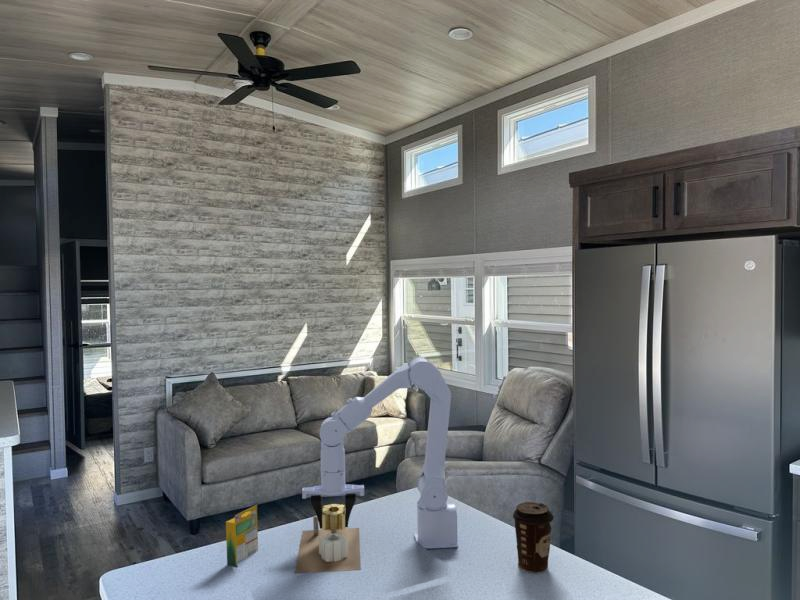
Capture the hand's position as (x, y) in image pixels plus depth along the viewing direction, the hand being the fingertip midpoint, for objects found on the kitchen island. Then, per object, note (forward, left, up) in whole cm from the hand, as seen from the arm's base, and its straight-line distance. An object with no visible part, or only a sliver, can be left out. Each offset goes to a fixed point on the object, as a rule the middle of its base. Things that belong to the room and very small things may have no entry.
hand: (334, 526), depth 139 cm
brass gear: (0, -1, 0) cm, 1 cm away
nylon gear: (0, +7, -4) cm, 8 cm away
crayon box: (+21, +4, -5) cm, 22 cm away
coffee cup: (-43, +15, -5) cm, 46 cm away
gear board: (+1, +3, -5) cm, 6 cm away
